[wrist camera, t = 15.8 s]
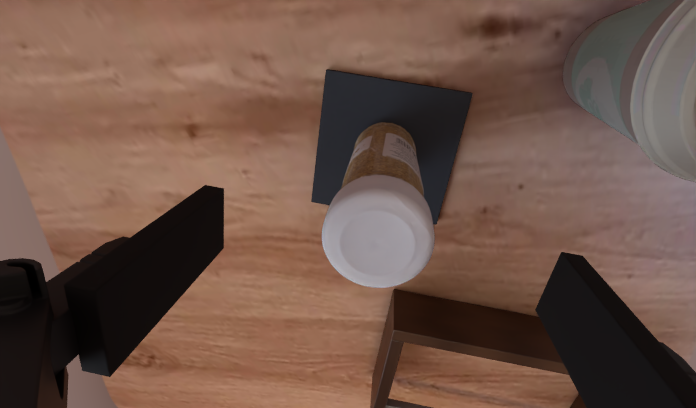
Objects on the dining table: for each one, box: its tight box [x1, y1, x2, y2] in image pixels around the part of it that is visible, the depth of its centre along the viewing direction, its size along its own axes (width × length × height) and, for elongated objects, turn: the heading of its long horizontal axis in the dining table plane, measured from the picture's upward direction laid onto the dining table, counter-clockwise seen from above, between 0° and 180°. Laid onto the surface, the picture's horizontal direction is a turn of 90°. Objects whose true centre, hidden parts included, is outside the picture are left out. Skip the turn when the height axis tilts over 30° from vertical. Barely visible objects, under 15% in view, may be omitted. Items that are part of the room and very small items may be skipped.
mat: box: [312, 69, 473, 224], centre depth 27 cm, size 10×10×1 cm
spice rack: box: [370, 289, 586, 408], centre depth 31 cm, size 20×11×5 cm, turn 82°
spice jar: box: [322, 122, 435, 288], centre depth 20 cm, size 5×5×14 cm
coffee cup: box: [563, 0, 696, 182], centre depth 17 cm, size 9×8×12 cm
